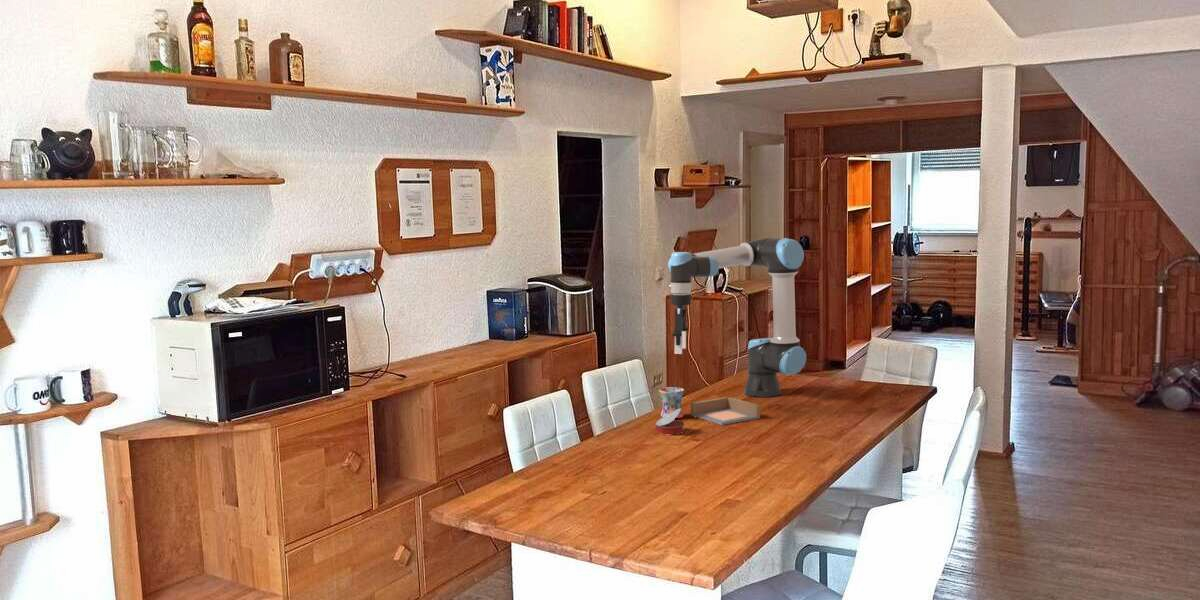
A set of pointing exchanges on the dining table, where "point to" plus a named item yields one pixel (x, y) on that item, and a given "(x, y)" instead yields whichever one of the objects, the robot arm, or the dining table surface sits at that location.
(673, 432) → the canned food
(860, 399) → the dining table surface
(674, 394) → the mug
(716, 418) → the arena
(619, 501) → the dining table surface
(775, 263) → the robot arm
